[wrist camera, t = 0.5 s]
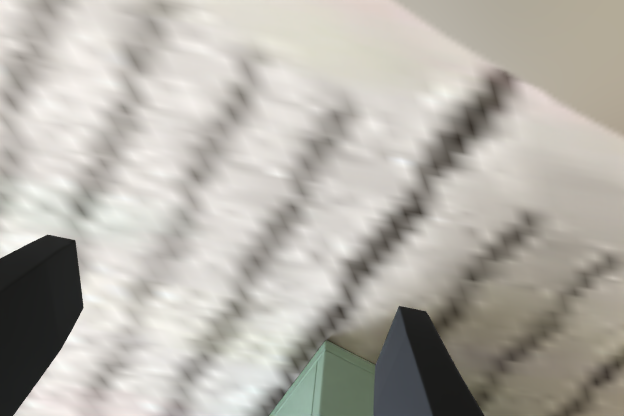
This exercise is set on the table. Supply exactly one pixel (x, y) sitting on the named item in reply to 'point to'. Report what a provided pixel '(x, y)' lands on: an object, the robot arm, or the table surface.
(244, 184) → the table surface
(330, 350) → the cabinet
